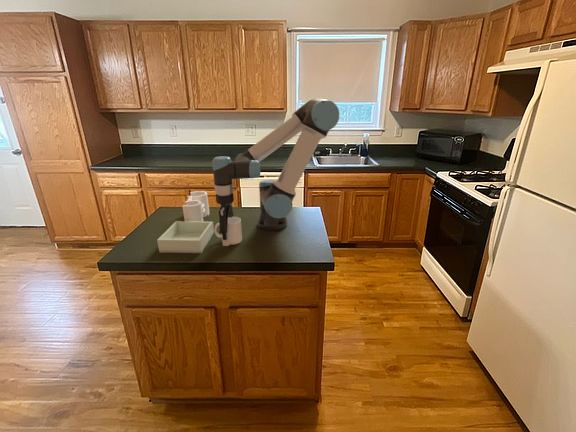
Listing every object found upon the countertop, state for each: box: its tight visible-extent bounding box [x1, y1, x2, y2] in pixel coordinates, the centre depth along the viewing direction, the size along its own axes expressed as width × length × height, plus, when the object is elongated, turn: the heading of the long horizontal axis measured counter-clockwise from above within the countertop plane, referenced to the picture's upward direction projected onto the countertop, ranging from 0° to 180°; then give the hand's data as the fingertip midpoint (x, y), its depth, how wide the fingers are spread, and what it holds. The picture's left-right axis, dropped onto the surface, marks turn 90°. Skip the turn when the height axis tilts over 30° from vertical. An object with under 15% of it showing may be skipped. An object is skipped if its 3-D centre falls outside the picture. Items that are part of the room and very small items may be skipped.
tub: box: [156, 220, 215, 254], centre depth 138 cm, size 18×20×6 cm
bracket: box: [181, 190, 210, 222], centre depth 162 cm, size 25×10×12 cm, turn 5°
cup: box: [214, 216, 243, 246], centre depth 138 cm, size 8×12×10 cm
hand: (228, 240), depth 140 cm, fingers open, 9 cm apart
